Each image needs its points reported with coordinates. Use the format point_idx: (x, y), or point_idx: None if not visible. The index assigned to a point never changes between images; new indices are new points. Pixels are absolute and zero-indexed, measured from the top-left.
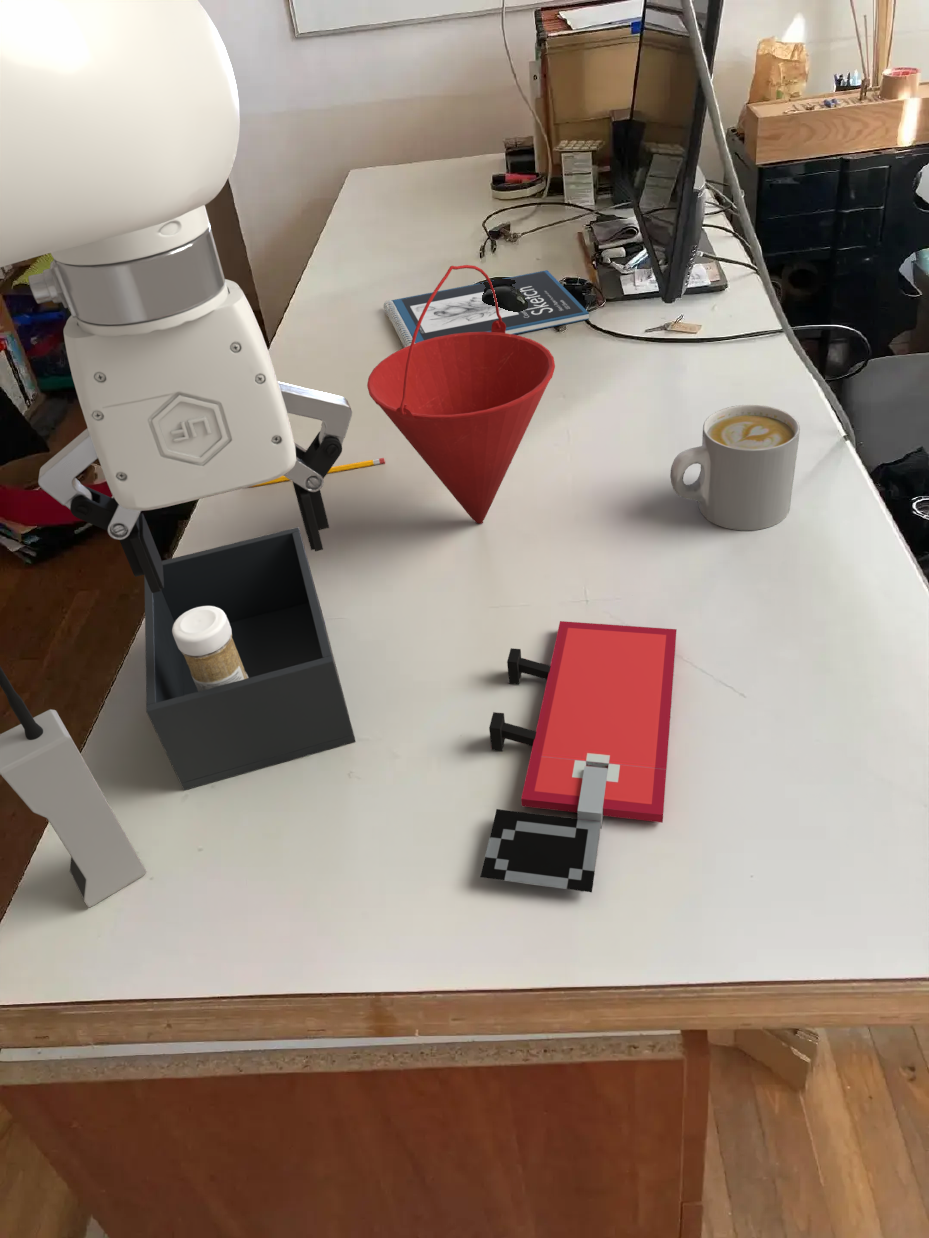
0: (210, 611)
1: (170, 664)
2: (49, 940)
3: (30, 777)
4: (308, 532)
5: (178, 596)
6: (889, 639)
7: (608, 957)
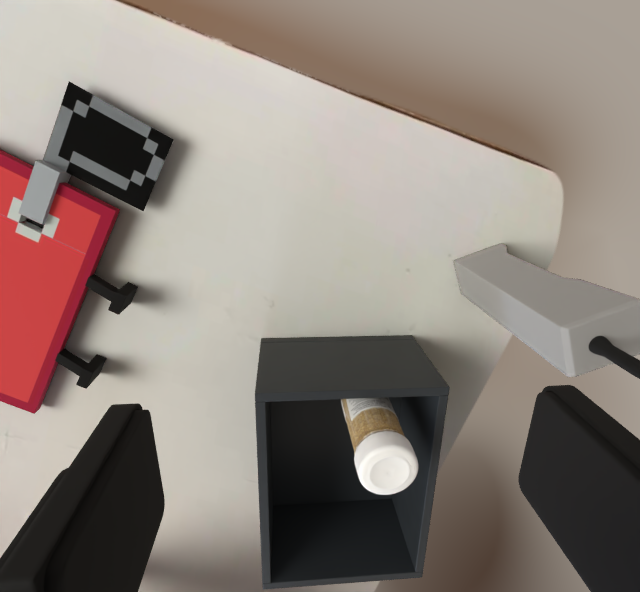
0: (374, 483)
1: None
2: (532, 224)
3: (598, 298)
4: (119, 450)
5: (391, 535)
6: None
7: (73, 16)
